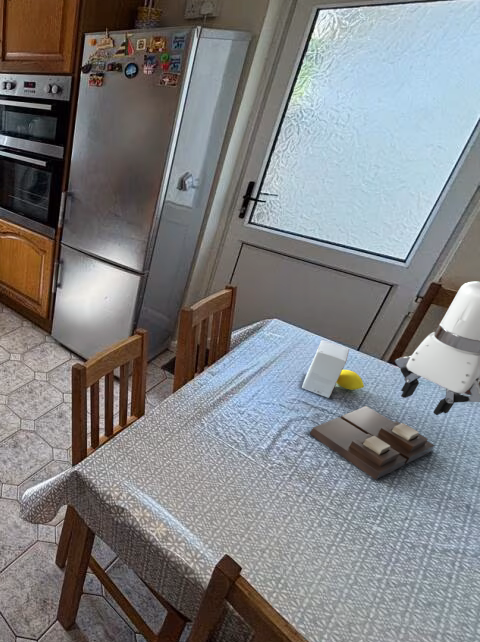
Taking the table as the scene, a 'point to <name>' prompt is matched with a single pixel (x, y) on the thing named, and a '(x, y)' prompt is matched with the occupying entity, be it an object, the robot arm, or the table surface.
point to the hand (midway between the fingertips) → (422, 403)
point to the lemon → (350, 380)
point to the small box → (325, 368)
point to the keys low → (388, 433)
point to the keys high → (357, 448)
